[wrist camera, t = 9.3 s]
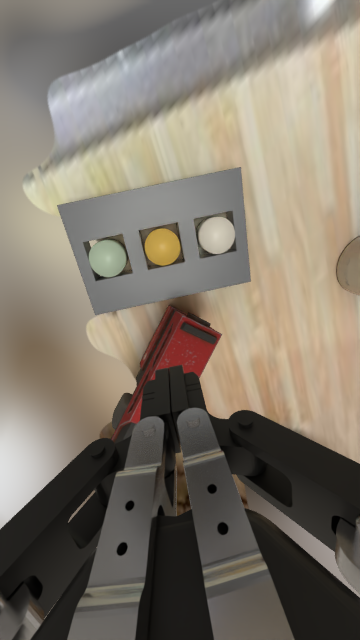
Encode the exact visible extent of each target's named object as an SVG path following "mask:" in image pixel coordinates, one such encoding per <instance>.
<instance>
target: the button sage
mask: <svg viewBox="0 0 360 640" xmlns="http://www.w3.org/2000/svg"><path fill="white" fill-rule="evenodd" d="M127 261H128V253H127V250H126V248H125V246H124V245H123V244H122V243H121V242H119V241H117V240H115V239H106V240H103V241H100V242H98V243H96V244H95V245H94V246H93V247H92V248H91V250H90V252H89V263H90V265H91V267H92V269H93V270H94V271H95V272H96V273H97V274H99V275H101V276H104V277H113V276H116V275H118V274H119V273H120V272H121V271H122V270H123V268H124V267H125V265H126V264H127Z"/></svg>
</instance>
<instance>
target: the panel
mask: <svg viewBox="0 0 360 640" xmlns="http://www.w3.org/2000/svg"><path fill="white" fill-rule="evenodd" d="M57 207H58V210H59V213H60V215H61V218H62V221H63V224H64V227H65V230H66V232H67V235H68V238H69V241H70V244H71V247H72V250H73V252H74V256H75V258H76V261H77V264H78V267H79V270H80V273H81V276H82V278H83V281H84V284H85V287H86V290H87V293H88V296H89V299H90V301H91V304H92V307H93V310H94V313H95V315H98V314H103V313H107V312H112V311H117V310H121V309H126V308H131V307H135V306H140V305H144V304H149V303H154V302H158V301H163V300H168V299H172V298H177V297H181V296H186V295H191V294H195V293H200V292H205V291H209V290H214V289H218V288H223V287H228V286H232V285H237V284H242V283H246V282H251V278H250V267H249V255H248V244H247V232H246V221H245V210H244V198H243V187H242V175H241V167H239V168H234V169H229V170H224V171H219V172H215V173H210V174H205V175H200V176H196V177H191V178H186V179H181V180H176V181H172V182H167V183H162V184H157V185H152V186H148V187H143V188H138V189H133V190H128V191H124V192H119V193H114V194H109V195H104V196H100V197H95V198H90V199H85V200H81V201H76V202H71V203H66V204H61V205H57ZM223 212H226V213H227V219H228V220H229V221H230V222H231V223H232V225H233V227H234V230H235V239H234V242H233V244H232V246H231V247H230V249H228V250H227V251H225V252H224V253H221V254H213V253H208V254H203V255H199V250H198V244H197V238H196V231H195V225H194V219H195V218H200V217H204V216H209V215H214V214H219V213H223ZM171 223H176V226H177V231H178V236H179V242H180V247H181V252H182V258H183V259H180V260H175V261H174V262H173V263H171V264H169V265H164V266H162V265H152V266H148V262H147V258H146V254H145V250H144V246H143V242H142V238H141V233H140V230H143V229H148V228H152V227H157V226H162V225H167V224H171ZM119 234H123V238H124V242H125V245H126V249H127V253H128V256H129V260H130V264H131V268H132V270H129V271H124V272H120V273H119V274H118V275H116V276H113V277H104V276H100V275H99V274H97V273H96V272H95V271H94V270H93V269H92V267H91V265H90V263H89V252H90V250H91V247H90V243H89V241H91V240H96V239H100V238H105V237H110V236H115V235H119Z"/></svg>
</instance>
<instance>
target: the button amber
mask: <svg viewBox="0 0 360 640" xmlns="http://www.w3.org/2000/svg"><path fill="white" fill-rule="evenodd" d="M145 252H146V255H147V257H148V258H149V259H150V260H151V261H152V262H153V263H155V264H157V265H162V266H164V265H169V264H171V263H173V262H174V261H175V260H176V259H177V257H178V256H179V253H180V242H179V239H178V237H177V236H176V235H175V234H174V233H173V232H172V231H170V230H168V229H166V228H157V229H155V230H153V231H152V232H151V233H150V234H149V235H148V237H147V239H146V242H145Z"/></svg>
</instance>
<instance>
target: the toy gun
mask: <svg viewBox="0 0 360 640" xmlns="http://www.w3.org/2000/svg"><path fill="white" fill-rule="evenodd" d="M209 326H210V323H208V322H206V321H205V320H203V319H201V318H199V317H197V316H195V315H192V314H190V313H188V314H186V313H184V312H182V311H180V310H178V309H176V308H174V307H172V306H170V305H169V306H168V308H167V310H166V312H165V314H164V316H163V318H162V320H161V322H160V324H159V326H158V328H157V330H156V332H155V334H154V336H153V338H152V340H151V342H150V344H149V346H148V348H147V350H146V352H145V354H144V356H143V358H142V360H141V362H140V368H141V369H140V371H139V373H138V375H137V377H136V381H137V387H136V389H135V391H134V393H133V394H130V393H124V394H123V396H122V397H121V399H120V401H119V403H118V405H117V407H116V408H115V410H114V413H113V418H112V426H113V428H114V429H115V433H114V434H113V436H112V437H111V440H113V442H114V443H115V444H116V443H118V442H120V441H122V440H124V439H126V438H128V437H129V436H131V435H132V432H133V429H134V427H135V425H136V424H137V423H138V422H139V421H140V414H141V404H142V396H143V387H144V386H145V384H146V383H147V381H150V380H155V370H158V369H163V368H169V367H173V366H178V365H182V366H183V370H184V373H189V372H194V373H195V374H196V375H198V377H199V378H200V376H201V374H202V372H203V370H204V368H205V366H206V364H207V362H208V360H209V359H210V357H211V355H212V353H213V351H214V349H215V347H216V345H217V343H218V341H219V339H220V337H221V335H222V334H220V333H219V332H217V331H215V330H214V329H212V328H211V327H209Z"/></svg>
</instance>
